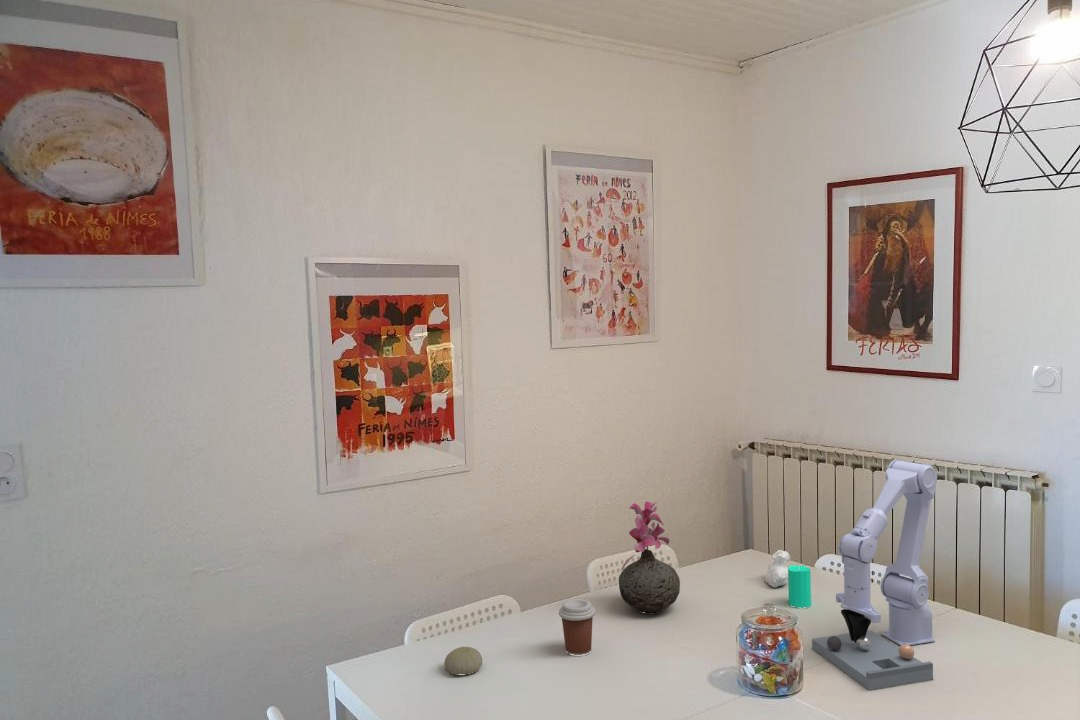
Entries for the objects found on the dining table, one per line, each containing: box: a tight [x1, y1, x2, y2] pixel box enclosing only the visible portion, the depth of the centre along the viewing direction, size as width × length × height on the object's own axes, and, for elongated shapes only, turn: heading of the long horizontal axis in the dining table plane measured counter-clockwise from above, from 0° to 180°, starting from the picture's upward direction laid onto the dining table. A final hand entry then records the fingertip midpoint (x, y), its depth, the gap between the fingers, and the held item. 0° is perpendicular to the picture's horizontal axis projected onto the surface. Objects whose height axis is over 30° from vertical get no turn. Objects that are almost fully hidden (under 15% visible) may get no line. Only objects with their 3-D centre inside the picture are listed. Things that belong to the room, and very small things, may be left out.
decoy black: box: [827, 635, 842, 650], centre depth 183 cm, size 3×3×3 cm
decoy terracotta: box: [898, 644, 915, 659], centre depth 177 cm, size 3×3×3 cm
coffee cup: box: [558, 598, 596, 655], centre depth 194 cm, size 9×9×12 cm
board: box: [811, 629, 934, 691], centre depth 181 cm, size 16×22×4 cm
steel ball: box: [856, 636, 871, 651], centre depth 182 cm, size 3×3×3 cm
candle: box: [787, 564, 812, 608], centre depth 217 cm, size 6×6×12 cm
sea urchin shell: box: [444, 646, 483, 676], centre depth 187 cm, size 9×8×8 cm
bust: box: [764, 549, 791, 589], centre depth 235 cm, size 12×8×11 cm
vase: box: [618, 501, 681, 614], centre depth 218 cm, size 17×18×30 cm
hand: (857, 641), depth 184 cm, fingers closed
